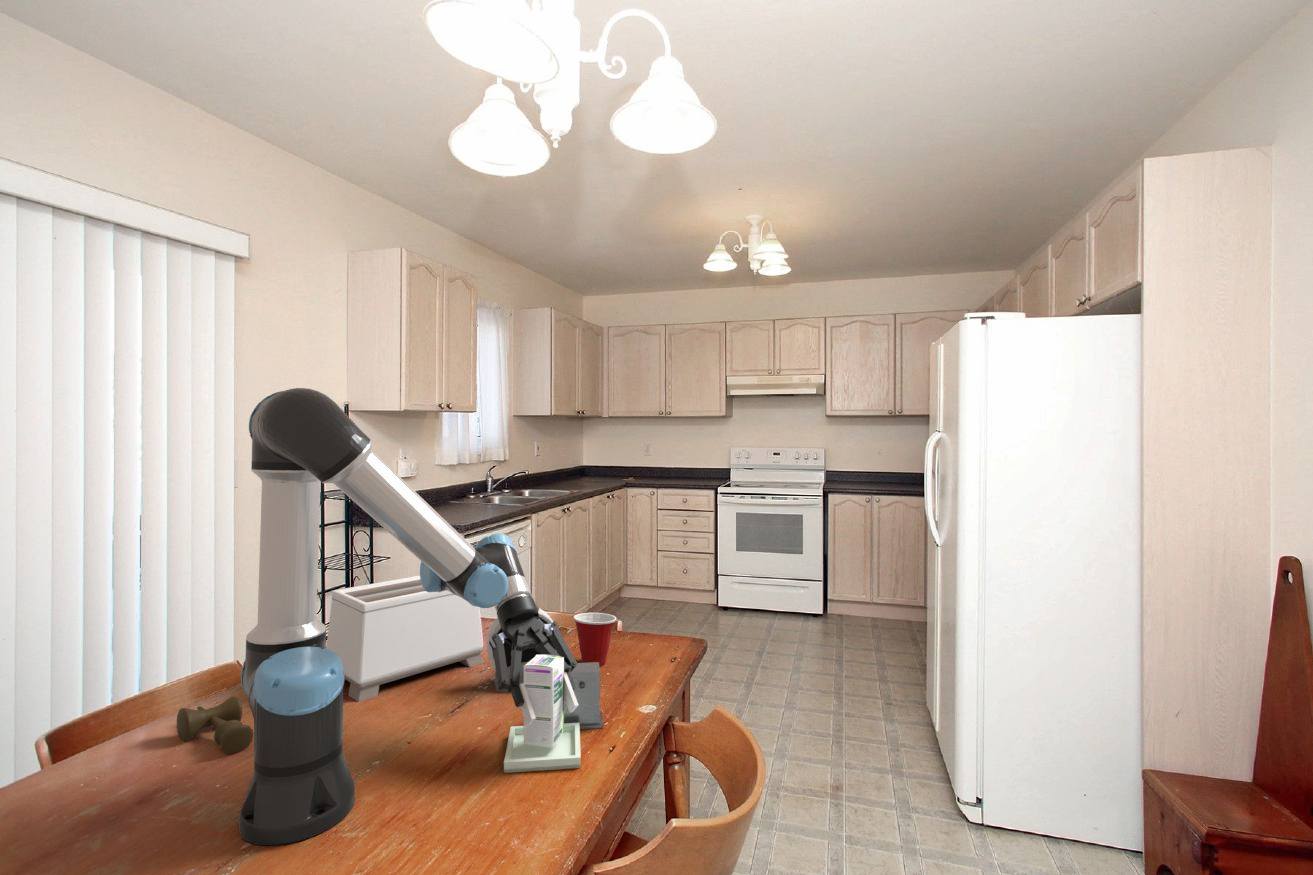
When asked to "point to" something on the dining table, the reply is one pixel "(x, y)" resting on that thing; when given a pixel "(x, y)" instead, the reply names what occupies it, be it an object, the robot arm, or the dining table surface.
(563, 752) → the tray
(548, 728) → the syrup box
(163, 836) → the dining table surface
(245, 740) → the kendama
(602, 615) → the plastic cup
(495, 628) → the alarm clock
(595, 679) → the gray phone stand
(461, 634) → the toaster
